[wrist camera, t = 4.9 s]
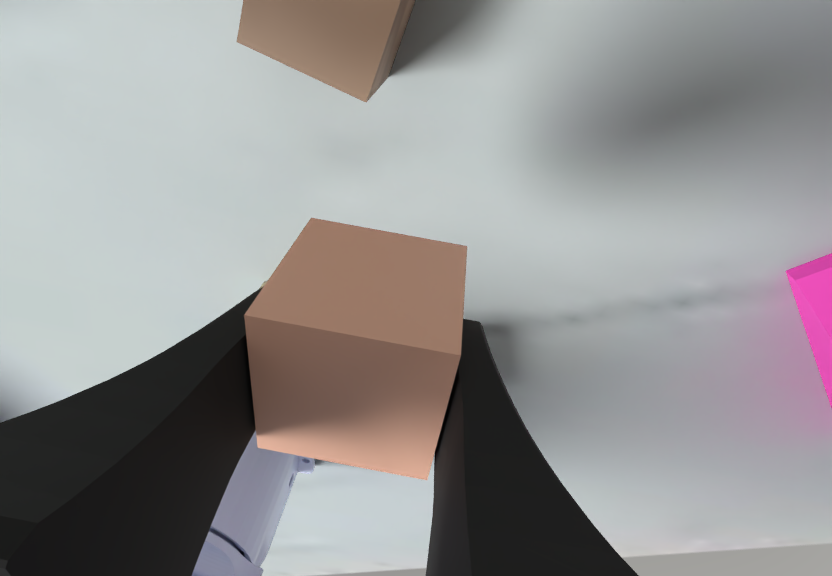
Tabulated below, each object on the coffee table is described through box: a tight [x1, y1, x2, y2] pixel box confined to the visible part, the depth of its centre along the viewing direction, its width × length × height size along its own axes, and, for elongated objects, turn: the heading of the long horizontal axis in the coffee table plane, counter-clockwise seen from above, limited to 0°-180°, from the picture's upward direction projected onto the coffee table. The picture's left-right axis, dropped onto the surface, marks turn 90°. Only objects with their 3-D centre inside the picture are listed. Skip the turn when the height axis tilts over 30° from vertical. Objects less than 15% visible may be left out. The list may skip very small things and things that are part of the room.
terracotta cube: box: [244, 218, 467, 480], centre depth 11 cm, size 4×4×4 cm
